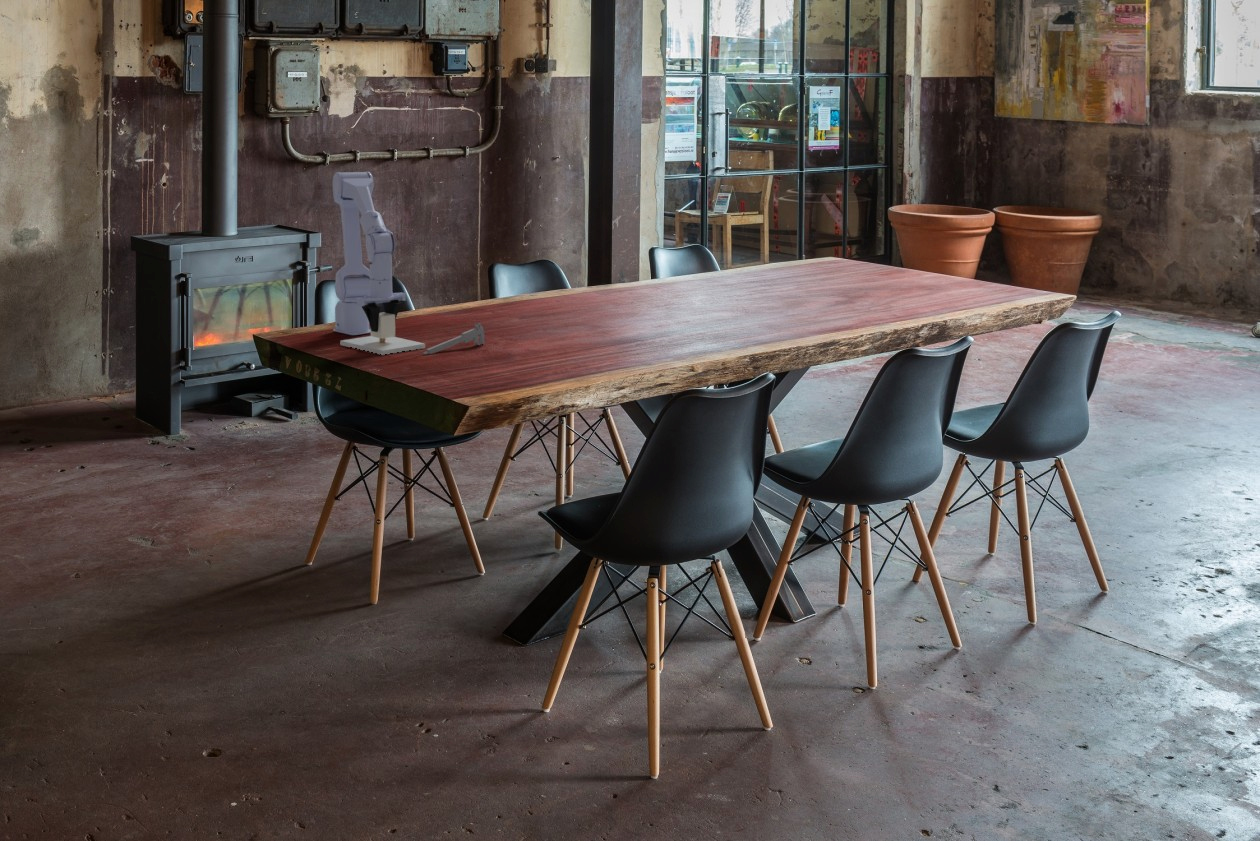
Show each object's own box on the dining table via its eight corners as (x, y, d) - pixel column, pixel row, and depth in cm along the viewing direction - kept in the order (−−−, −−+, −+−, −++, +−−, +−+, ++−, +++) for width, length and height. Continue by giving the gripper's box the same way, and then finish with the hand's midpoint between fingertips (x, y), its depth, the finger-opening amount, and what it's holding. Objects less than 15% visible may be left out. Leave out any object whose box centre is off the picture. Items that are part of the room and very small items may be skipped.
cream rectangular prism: (370, 335, 369) (370, 314, 367) (384, 333, 372) (384, 312, 370) (381, 338, 366) (380, 316, 364) (395, 336, 369) (394, 314, 367)
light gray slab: (340, 345, 370) (339, 324, 369) (382, 338, 380) (382, 318, 379) (382, 355, 359) (381, 334, 357) (425, 348, 369) (424, 327, 367)
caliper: (481, 345, 376) (481, 321, 374) (484, 345, 375) (484, 322, 374) (422, 355, 361) (422, 331, 360) (425, 355, 361) (425, 331, 359)
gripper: (367, 283, 357) (369, 335, 361) (412, 278, 368) (413, 328, 371) (351, 280, 362) (352, 331, 365) (395, 275, 372) (397, 325, 376)
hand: (382, 330), depth 368 cm, fingers closed on cream rectangular prism, 4 cm apart
